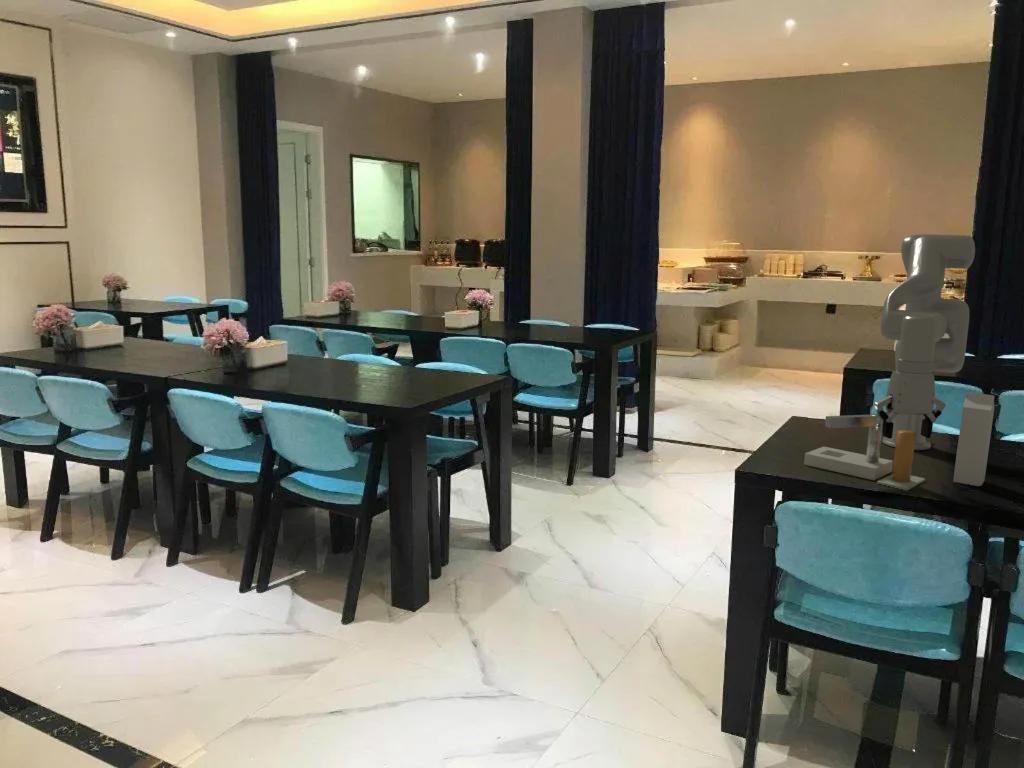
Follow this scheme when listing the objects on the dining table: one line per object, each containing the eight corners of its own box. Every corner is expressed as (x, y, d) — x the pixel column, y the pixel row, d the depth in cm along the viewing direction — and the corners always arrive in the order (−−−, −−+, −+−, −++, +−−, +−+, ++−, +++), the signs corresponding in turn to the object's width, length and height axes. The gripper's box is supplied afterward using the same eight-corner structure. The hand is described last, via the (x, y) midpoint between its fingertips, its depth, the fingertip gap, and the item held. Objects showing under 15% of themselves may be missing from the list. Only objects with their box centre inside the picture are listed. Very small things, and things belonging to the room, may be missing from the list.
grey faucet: (820, 461, 200) (824, 415, 198) (873, 458, 204) (878, 413, 202) (827, 465, 198) (832, 418, 196) (881, 462, 202) (886, 416, 199)
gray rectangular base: (822, 457, 217) (823, 446, 217) (891, 472, 205) (892, 460, 204) (804, 464, 210) (805, 453, 209) (874, 480, 197) (875, 468, 197)
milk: (980, 487, 194) (993, 397, 190) (952, 481, 198) (964, 393, 194) (984, 481, 199) (996, 393, 195) (956, 476, 203) (968, 390, 198)
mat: (895, 474, 203) (895, 472, 203) (924, 480, 198) (925, 478, 198) (876, 483, 195) (876, 481, 194) (906, 490, 190) (907, 488, 190)
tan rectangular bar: (895, 476, 199) (900, 429, 197) (912, 480, 196) (918, 432, 194) (889, 479, 196) (894, 431, 194) (906, 483, 193) (912, 434, 191)
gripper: (939, 364, 196) (931, 432, 199) (871, 364, 194) (863, 433, 198) (958, 370, 188) (949, 440, 192) (887, 370, 187) (880, 441, 190)
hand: (906, 436), depth 195 cm, fingers open, 9 cm apart
